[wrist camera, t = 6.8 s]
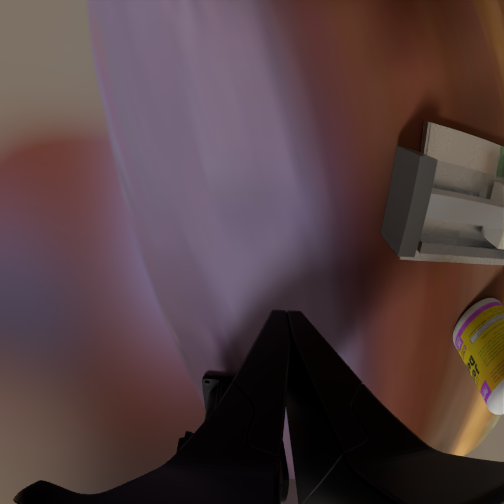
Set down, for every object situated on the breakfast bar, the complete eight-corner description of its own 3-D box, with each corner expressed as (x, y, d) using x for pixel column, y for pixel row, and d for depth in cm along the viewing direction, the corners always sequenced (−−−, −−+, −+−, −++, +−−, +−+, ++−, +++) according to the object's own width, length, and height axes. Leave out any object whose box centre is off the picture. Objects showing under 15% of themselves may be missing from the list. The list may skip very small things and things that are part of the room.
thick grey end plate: (505, 245, 19) (526, 264, 17) (380, 233, 19) (397, 256, 17) (528, 159, 16) (554, 171, 13) (400, 117, 16) (424, 123, 13)
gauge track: (511, 262, 21) (544, 295, 16) (396, 255, 21) (428, 300, 16) (540, 162, 16) (582, 184, 12) (424, 120, 16) (473, 133, 11)
